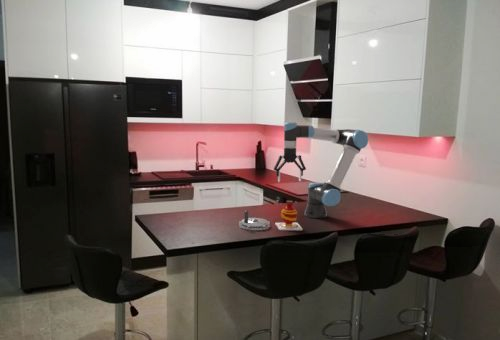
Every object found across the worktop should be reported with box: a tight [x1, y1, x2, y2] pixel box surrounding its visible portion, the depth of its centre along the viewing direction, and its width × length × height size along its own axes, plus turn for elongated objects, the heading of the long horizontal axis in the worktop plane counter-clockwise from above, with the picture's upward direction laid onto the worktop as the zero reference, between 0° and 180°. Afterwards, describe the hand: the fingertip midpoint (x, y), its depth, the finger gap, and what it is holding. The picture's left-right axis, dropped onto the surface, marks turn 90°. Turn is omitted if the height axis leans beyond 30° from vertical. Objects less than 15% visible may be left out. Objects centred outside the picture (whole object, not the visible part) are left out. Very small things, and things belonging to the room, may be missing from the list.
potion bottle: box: [280, 200, 298, 226], centre depth 252 cm, size 10×10×15 cm
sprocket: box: [238, 210, 270, 228], centre depth 251 cm, size 19×17×9 cm
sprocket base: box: [238, 223, 271, 232], centre depth 252 cm, size 19×19×1 cm
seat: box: [275, 222, 303, 231], centre depth 253 cm, size 14×14×1 cm
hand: (289, 181), depth 258 cm, fingers open, 13 cm apart
